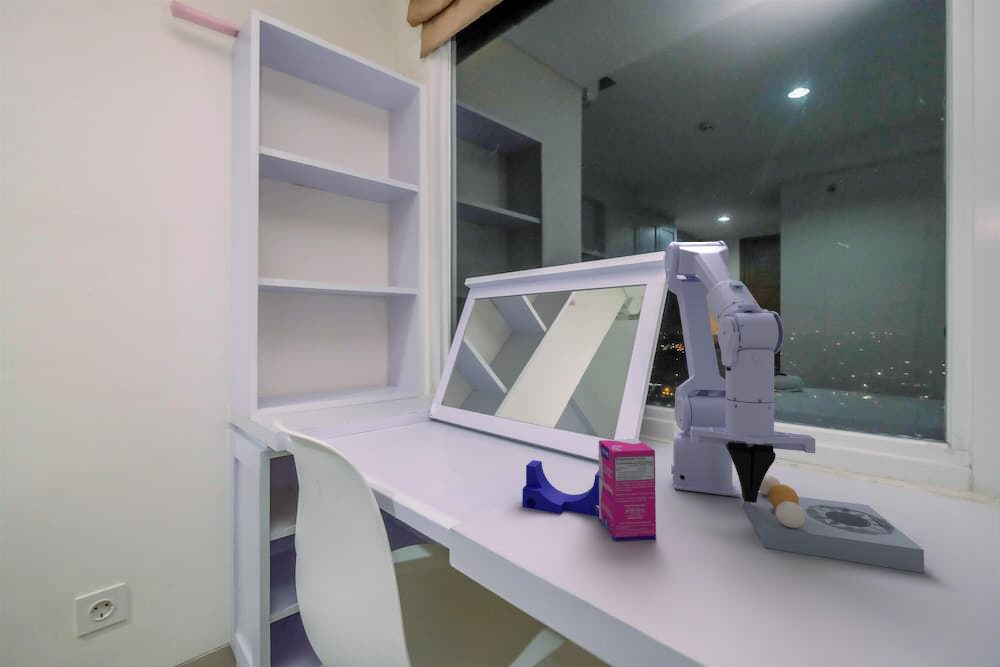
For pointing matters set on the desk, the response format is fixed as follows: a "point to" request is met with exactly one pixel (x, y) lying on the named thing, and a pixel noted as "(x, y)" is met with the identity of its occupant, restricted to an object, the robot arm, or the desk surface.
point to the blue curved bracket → (556, 494)
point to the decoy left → (768, 484)
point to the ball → (781, 494)
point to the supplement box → (627, 489)
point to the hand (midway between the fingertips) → (749, 499)
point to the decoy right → (790, 514)
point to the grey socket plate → (837, 533)
